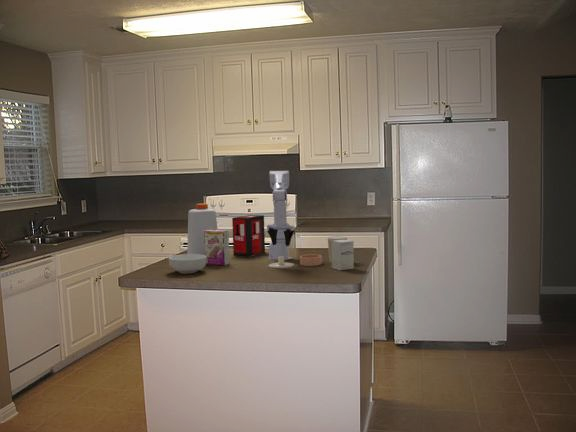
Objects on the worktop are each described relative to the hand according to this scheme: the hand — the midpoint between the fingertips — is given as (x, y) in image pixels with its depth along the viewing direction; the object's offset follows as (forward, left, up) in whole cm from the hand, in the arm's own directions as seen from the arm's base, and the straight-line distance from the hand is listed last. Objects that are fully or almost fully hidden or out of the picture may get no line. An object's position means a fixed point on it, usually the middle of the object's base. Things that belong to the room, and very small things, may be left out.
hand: (281, 245), depth 264 cm
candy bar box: (-31, -10, -10) cm, 34 cm away
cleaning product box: (-37, +21, -10) cm, 44 cm away
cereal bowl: (-29, -31, -10) cm, 44 cm away
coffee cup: (+17, +22, -10) cm, 30 cm away
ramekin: (+9, +11, -10) cm, 17 cm away
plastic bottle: (-49, -1, -10) cm, 50 cm away
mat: (0, 0, -10) cm, 10 cm away
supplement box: (+27, +10, -10) cm, 30 cm away
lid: (0, 0, -10) cm, 10 cm away
